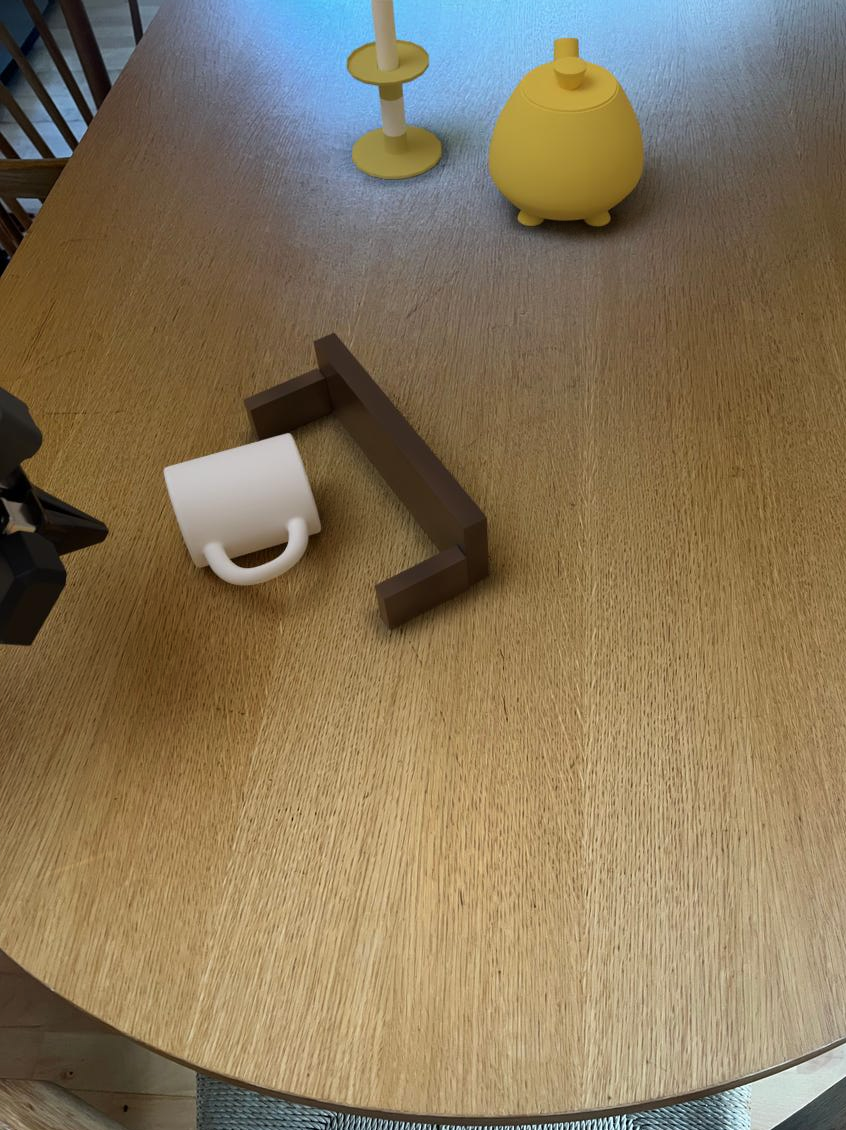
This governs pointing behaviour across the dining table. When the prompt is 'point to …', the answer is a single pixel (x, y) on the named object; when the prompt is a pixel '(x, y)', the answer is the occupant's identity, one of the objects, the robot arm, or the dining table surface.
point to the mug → (244, 507)
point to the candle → (392, 102)
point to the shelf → (387, 474)
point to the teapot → (566, 142)
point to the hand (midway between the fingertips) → (105, 532)
